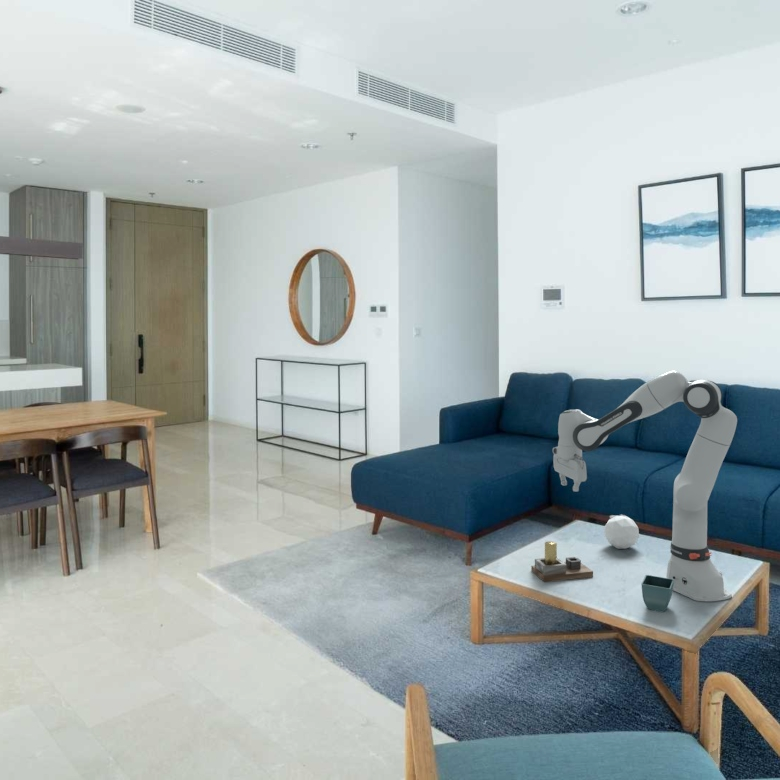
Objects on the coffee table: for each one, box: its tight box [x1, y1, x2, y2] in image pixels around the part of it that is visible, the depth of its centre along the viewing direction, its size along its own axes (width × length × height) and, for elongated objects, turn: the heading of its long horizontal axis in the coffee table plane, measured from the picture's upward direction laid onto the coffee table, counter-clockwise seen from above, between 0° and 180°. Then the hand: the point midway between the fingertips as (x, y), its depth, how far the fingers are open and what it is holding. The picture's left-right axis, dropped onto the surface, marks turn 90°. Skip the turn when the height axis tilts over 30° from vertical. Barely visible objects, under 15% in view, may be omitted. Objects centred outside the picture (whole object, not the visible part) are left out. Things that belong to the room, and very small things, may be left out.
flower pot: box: [641, 574, 674, 613], centre depth 221 cm, size 9×9×9 cm
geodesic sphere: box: [603, 513, 640, 550], centre depth 279 cm, size 14×14×14 cm
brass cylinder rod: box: [544, 540, 558, 565], centre depth 251 cm, size 4×4×10 cm
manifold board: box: [530, 556, 594, 583], centre depth 252 cm, size 11×19×5 cm, turn 102°
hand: (569, 488), depth 261 cm, fingers open, 8 cm apart
